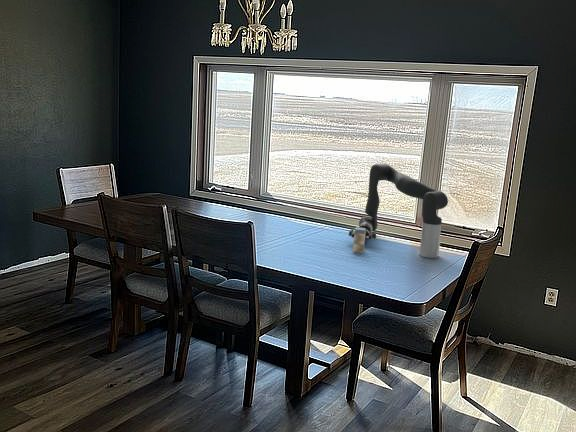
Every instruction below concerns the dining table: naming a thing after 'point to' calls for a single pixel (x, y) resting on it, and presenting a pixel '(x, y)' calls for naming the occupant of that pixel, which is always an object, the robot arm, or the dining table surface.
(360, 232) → the maple block
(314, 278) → the dining table surface
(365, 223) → the robot arm
